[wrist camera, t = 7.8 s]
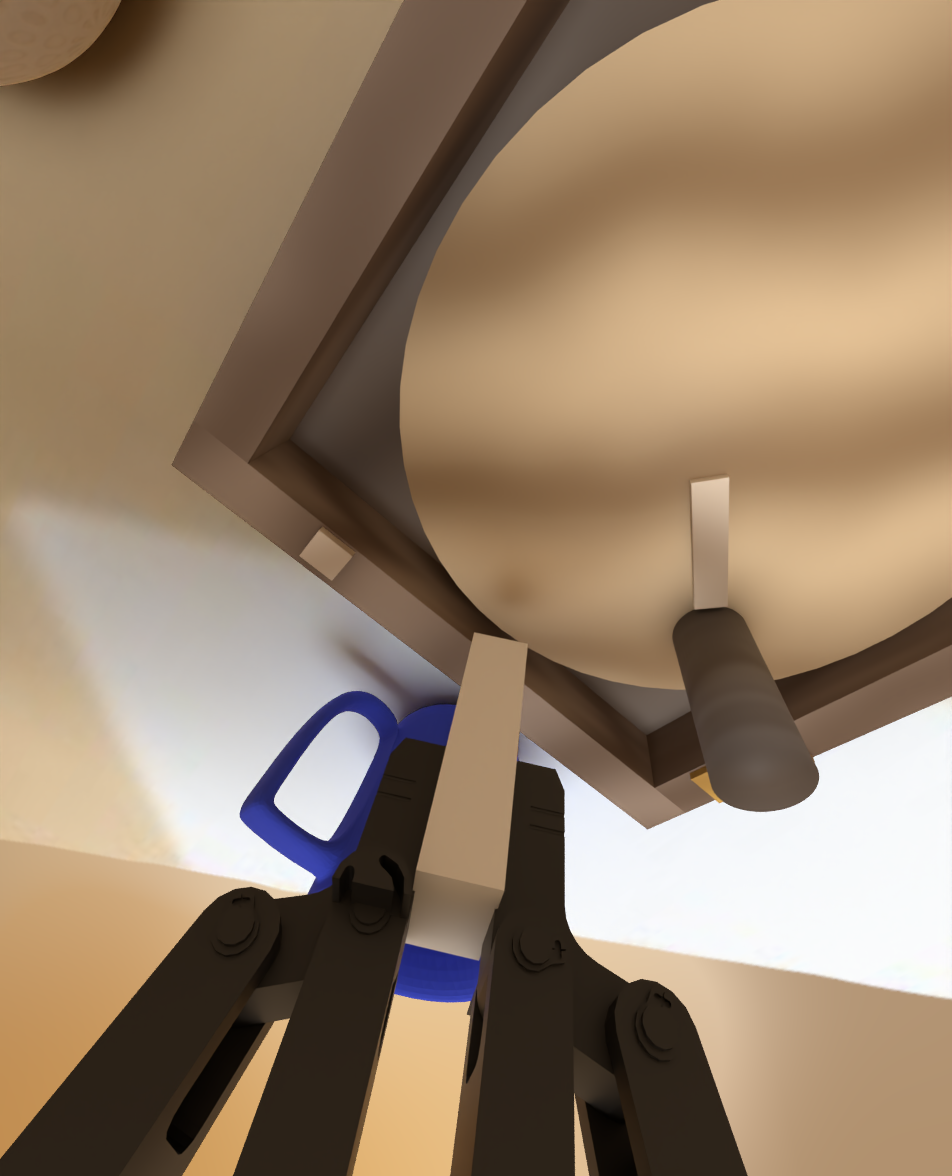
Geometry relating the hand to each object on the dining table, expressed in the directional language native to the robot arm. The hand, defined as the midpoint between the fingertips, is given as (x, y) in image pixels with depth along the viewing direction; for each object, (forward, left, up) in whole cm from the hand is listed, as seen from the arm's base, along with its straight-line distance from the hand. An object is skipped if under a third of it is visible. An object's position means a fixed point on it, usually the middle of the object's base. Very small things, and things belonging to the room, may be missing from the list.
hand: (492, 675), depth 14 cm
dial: (+1, +8, -7) cm, 11 cm away
